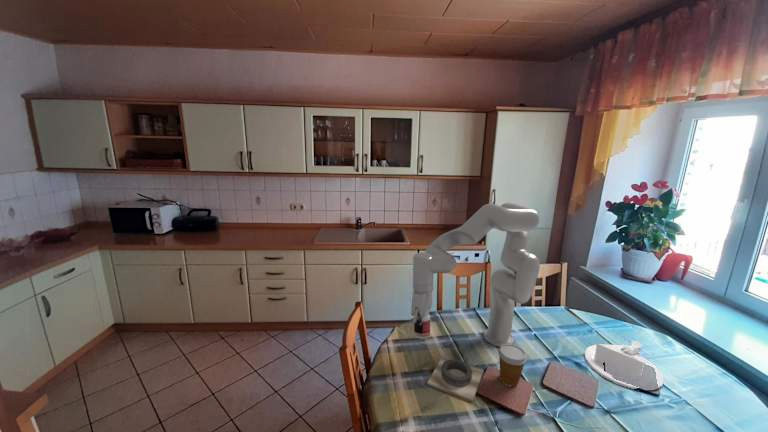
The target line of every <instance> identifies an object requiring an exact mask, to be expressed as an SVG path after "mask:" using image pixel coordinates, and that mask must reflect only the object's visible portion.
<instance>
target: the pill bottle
mask: <svg viewBox="0 0 768 432" xmlns="http://www.w3.org/2000/svg"><path fill="white" fill-rule="evenodd" d="M419 316H420V314H419ZM418 320H419V321H420V318H418ZM422 324H423V333H422V334H419V333H416V332H415V331H414V330H413V335H414V336H415V337H416V338H417V339H420V340H425V339H428V338H430V336H431V314H430V315H429V310H428V311H427V314H426V315H425V317H423V321H422ZM414 325H415V324H414V323H413V326H414Z"/></svg>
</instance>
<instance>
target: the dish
mask: <svg viewBox="0 0 768 432" xmlns="http://www.w3.org/2000/svg"><path fill="white" fill-rule="evenodd" d="M630 343H631V344H630V345H623V344H622V345H621V344H607V343H606V344H603V343H597V344H593V345H590V346H587V348H586V349H585V351H584V359H585V362H586V363H587V364H588V366H589V367H590V368H591V369H592V370H593V371H595V373H597V375H600V376H601V377H603V378H604V379H606V380H608V381H610V382H611V381H612V383H614V384H616V385H618V386H621V387H623V386H624V387H623V388H626V387H628V388H627V389H629V388H631V389H630V390H634V389H637V388H639V387H636V386H633V385H631V384H627V383H625V382H622V381H619V380H616V379H614V378H613V377H612V375H610V374H609V373H607V372H605V371H604V365H603V363H604V362H607V363H610V364H613V365H615V366H618V367H621V368H622V369H625V370H627V371H629V372H631V373H634V374H636V375H638V376H641V375H642V371H643V367H644V364H646V365H649V366H651V367H653V368H654V369H655V372H656V379H657V384H658V387H661V388H663V385H664V381H665V377H664V376H663V373H662V372H661V370H660V369H659V368H657V366H655V364H653V363H652V362H651V361H649V360H647V359H646V358H644V357H643V356H642V355H641V354H640V350H643V349H644V348H643V347H644V346H643V345H642V343H640V342H639V341H636V340H632V341H631V342H630Z"/></svg>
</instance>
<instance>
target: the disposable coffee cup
mask: <svg viewBox="0 0 768 432" xmlns="http://www.w3.org/2000/svg"><path fill="white" fill-rule="evenodd" d="M497 352H498V353H497V354H498V356H499V379H500V378H501V380H502V382H504V383H505V384H507V385H511V386H514V387H516V386H515V385H517V384H518V385H519V382H520V380H521V375H522V373H523V370H524V366H525V363H526V362H527V361H528V357H527V354H526V351H525V350H524V349H523V348H522V347H520V346H518V345H515V344H513V345H512V344H505V345H502V346H501V347H499V348H498V350H497ZM501 380H500V381H501ZM502 382H501V383H502ZM504 383H503V384H504ZM505 384H504V385H505ZM507 385H506V386H507ZM518 385H517V386H518ZM511 386H510V387H511Z"/></svg>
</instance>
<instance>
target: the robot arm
mask: <svg viewBox="0 0 768 432" xmlns="http://www.w3.org/2000/svg"><path fill="white" fill-rule="evenodd" d="M539 223H540V215H539V213H538V212H537V210H535V209H533V208H529V207H526V206H522V205H519V204H515V203H511V202H504V203H503V204H501V205H498V204H494V203H487V204H484V205H482V206H481V207H480V208H479V209H478V210H477V211H476V212H475V213H473V214H472V216H470V218H468V220H466V221H465V222H464V223H463V224H462V225H461V226H459V227H457V228H454V229H451V230H449V231H447V232H445V233H442V234H441V235H439V236H438V237H436V239H434V240H433V241H432V242H431V243H430V244H429V245H428V246H427V248H426V249H425V251H423V252H417V253H415V254H414V255H413V257H412V290H413V291H412V298H411V308H410V309H411V310H410V315H411V316H412V317H413V318H412V322H413V332H414V331H415V332H416V333H419V334H422V333H423V324H422V321H423V317H425V315H426V314H427V311H428V310H429V315H430V316H431V308H432V305H433V292H434V274H449V273H451V272H453V271H454V270H455V269H456V267H457V260H456V258H455V256H453V254H451V253H449V252H448V251H449V250H450V249H452V248H454V247H457V246H462V245H463V246H465V245H468V246H469V245H475V244H478V242H480V241H481V240H482V239H483V238H484V237H485V236H486V235H487V234H488V233H489V232H490V231H491V230H492V229H496V230H498V231H501V232H506V235H505V241H504V243H503V247H502V251H501V254H500V263H501V265H502V266H504V267H505V268H506V269H507V270H506V269H501V268H500V269H497V270H495V271H494V272H493V273H492V274H491V277H490V290H491V295H490V296H491V298H490V307H489V315H488V316H489V317H488V325H487V329H485V330H484V332H483V338H484V340H485V341H486V342H487V343H488V344H491V345H492V346H495V347H497V348H498V347H499V348H500V347H501V346H502V345H505V344H512V345H514V343H515V338H514V335H512V329H513V320H514V313H515V305H516V303H517V304H521V305H523V304H526V303H527V302H529V300H530V298H531V297H532V295H533V293H534V289H535V286H536V283H537V279H538V275H539V273H540V267H541V265H540V260H539V258H538V257H537V256H536V255H535V254H534V253H531V252H529V251H527V247H528V243H529V234H530V233H529V231H533V230H535V229H536V228H537V227H538V225H539ZM509 270H510V271H509ZM511 271H512V272H511ZM513 272H514V273H513ZM515 273H516V274H515ZM419 314H420V316H419ZM418 318H420V321H419V320H418ZM414 324H415V325H414Z"/></svg>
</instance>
